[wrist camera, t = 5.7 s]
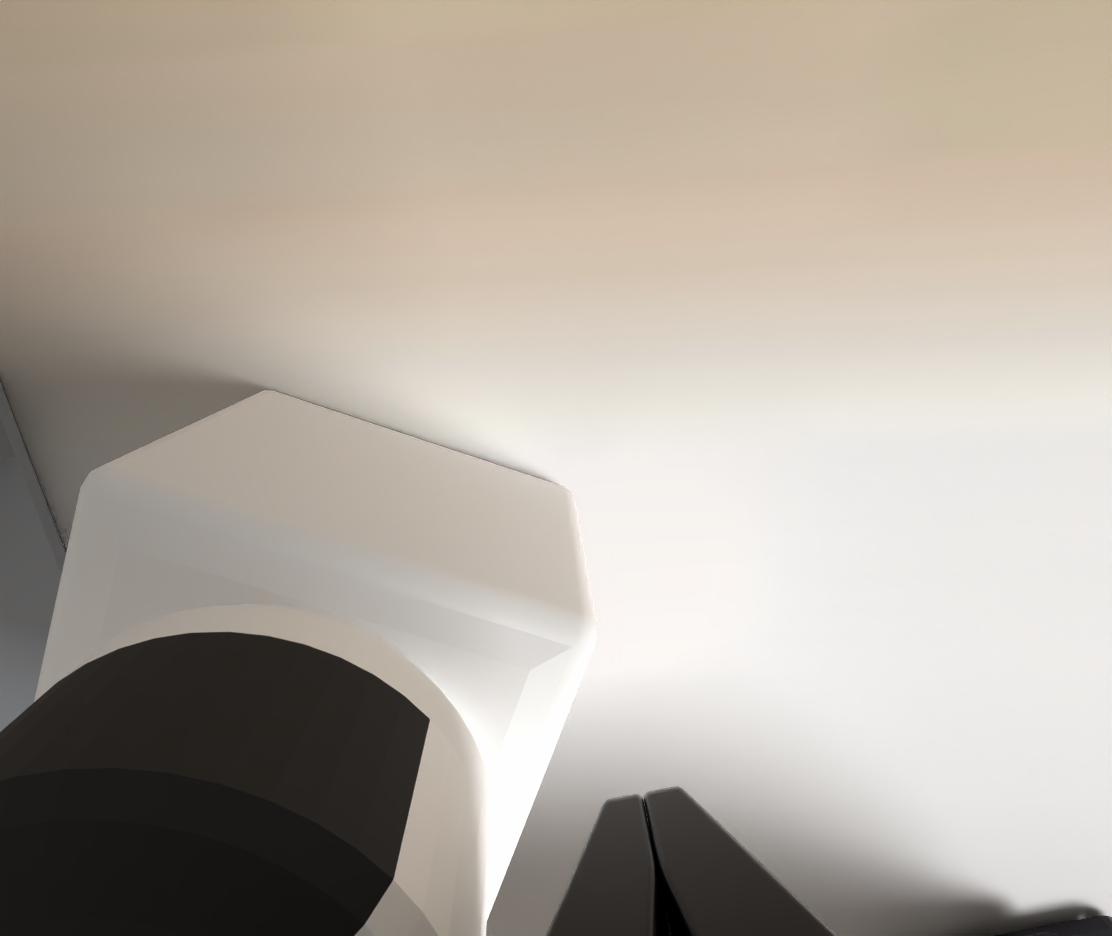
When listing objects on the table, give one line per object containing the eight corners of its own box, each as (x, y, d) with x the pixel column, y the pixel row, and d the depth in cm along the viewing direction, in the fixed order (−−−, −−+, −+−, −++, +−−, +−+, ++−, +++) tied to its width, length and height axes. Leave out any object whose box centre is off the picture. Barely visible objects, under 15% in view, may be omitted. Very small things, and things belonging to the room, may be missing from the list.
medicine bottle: (185, 672, 19) (-402, 1357, 7) (261, 382, 17) (-332, 639, 5) (479, 757, 19) (396, 1506, 8) (579, 487, 18) (665, 913, 6)
